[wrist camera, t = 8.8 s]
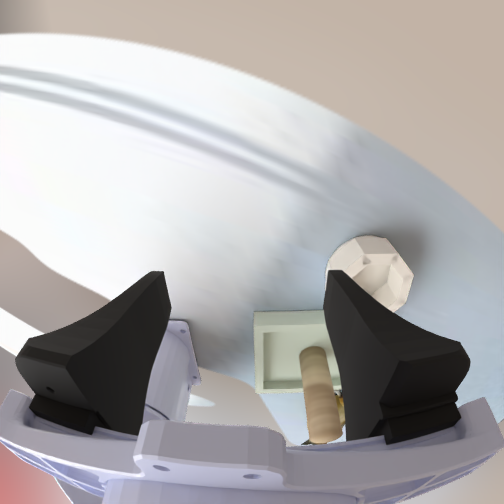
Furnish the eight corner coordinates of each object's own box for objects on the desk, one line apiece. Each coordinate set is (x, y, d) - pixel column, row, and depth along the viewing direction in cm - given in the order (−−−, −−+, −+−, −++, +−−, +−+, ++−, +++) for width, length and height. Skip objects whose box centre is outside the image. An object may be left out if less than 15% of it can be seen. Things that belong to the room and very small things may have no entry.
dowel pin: (323, 362, 27) (338, 441, 19) (297, 364, 27) (307, 444, 19) (327, 345, 26) (345, 427, 18) (299, 347, 26) (311, 431, 18)
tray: (353, 375, 30) (357, 387, 28) (255, 380, 30) (255, 393, 28) (374, 307, 25) (380, 319, 23) (253, 311, 25) (253, 325, 24)
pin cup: (388, 299, 24) (399, 321, 22) (321, 303, 25) (327, 326, 22) (403, 235, 21) (419, 252, 19) (328, 234, 22) (338, 254, 19)
